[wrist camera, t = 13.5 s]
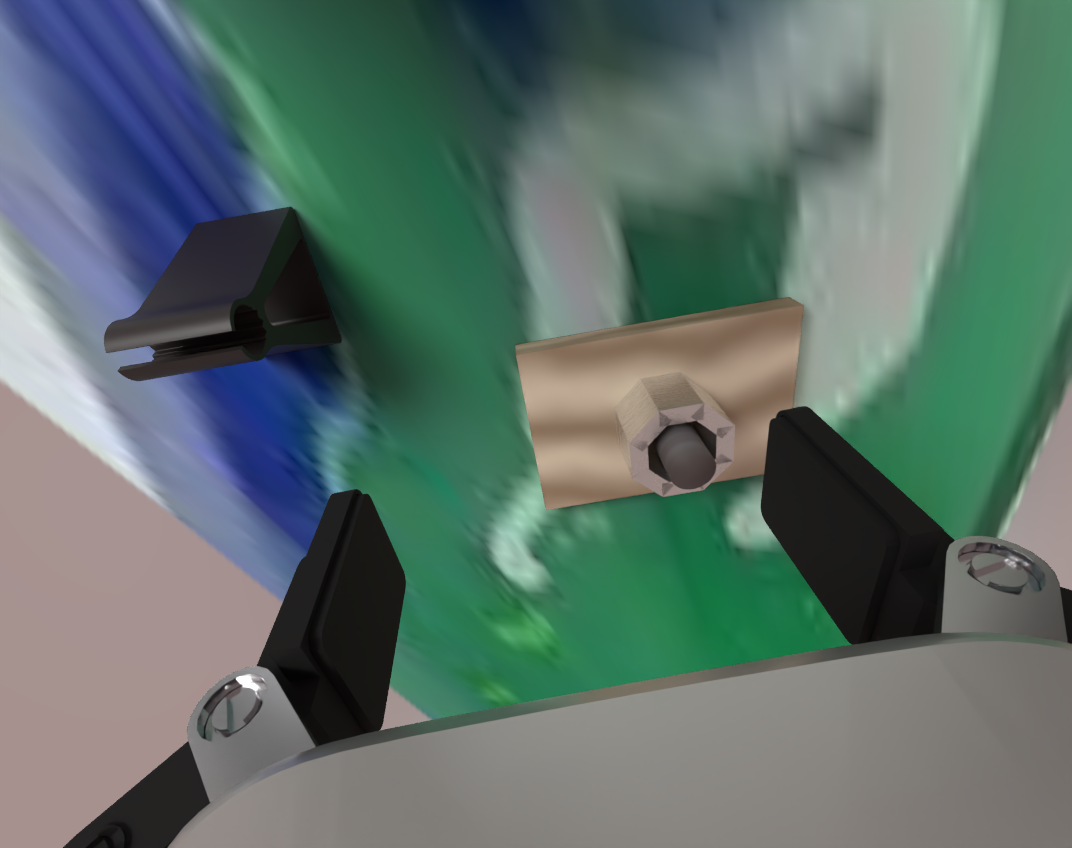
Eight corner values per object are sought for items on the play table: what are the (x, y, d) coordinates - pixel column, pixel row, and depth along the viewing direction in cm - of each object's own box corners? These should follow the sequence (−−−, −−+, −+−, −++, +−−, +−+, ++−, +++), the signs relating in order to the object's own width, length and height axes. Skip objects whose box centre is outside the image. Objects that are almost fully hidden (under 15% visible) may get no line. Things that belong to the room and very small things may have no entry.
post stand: (515, 344, 37) (519, 400, 29) (789, 297, 36) (868, 340, 28) (544, 495, 43) (553, 573, 36) (774, 457, 43) (834, 527, 35)
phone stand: (342, 341, 36) (277, 424, 25) (260, 354, 36) (161, 442, 25) (293, 205, 31) (188, 239, 21) (199, 222, 31) (49, 263, 21)
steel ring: (611, 383, 36) (626, 416, 32) (708, 366, 36) (736, 397, 32) (619, 462, 40) (633, 501, 35) (707, 447, 40) (732, 485, 35)
